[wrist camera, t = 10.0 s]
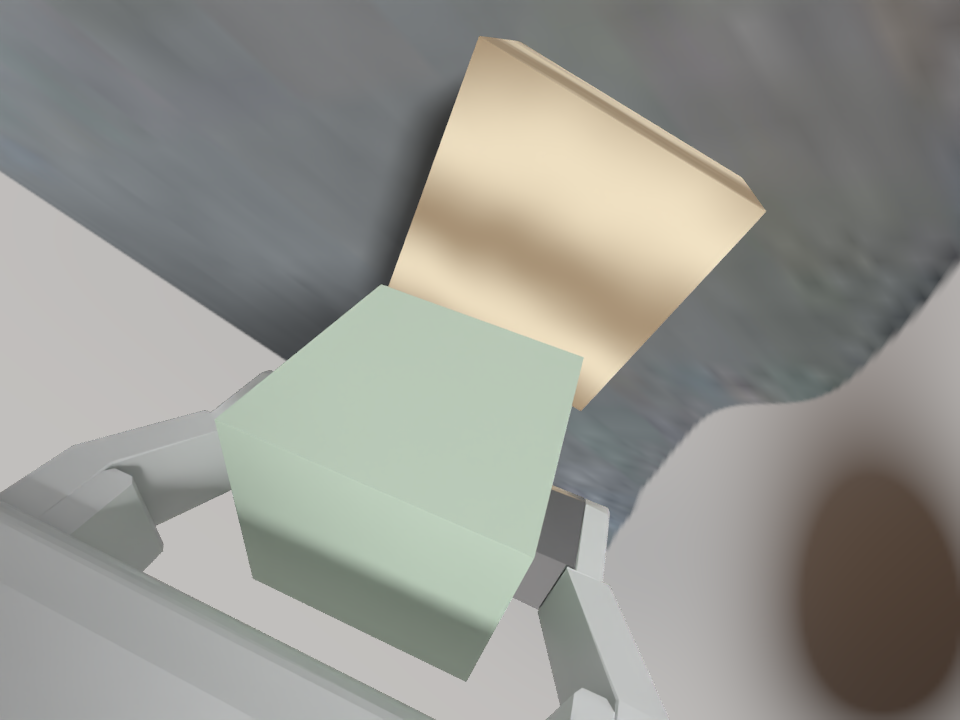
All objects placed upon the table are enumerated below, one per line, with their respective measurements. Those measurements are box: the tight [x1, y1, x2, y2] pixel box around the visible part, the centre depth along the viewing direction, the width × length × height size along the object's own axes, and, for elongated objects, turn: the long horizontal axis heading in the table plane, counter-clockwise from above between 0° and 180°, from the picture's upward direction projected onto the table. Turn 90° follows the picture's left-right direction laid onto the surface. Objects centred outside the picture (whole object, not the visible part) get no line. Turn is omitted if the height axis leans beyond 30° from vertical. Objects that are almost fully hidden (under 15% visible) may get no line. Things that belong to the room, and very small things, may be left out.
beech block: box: [388, 36, 766, 411], centre depth 22 cm, size 12×12×6 cm
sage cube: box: [215, 284, 584, 682], centre depth 10 cm, size 5×5×5 cm
